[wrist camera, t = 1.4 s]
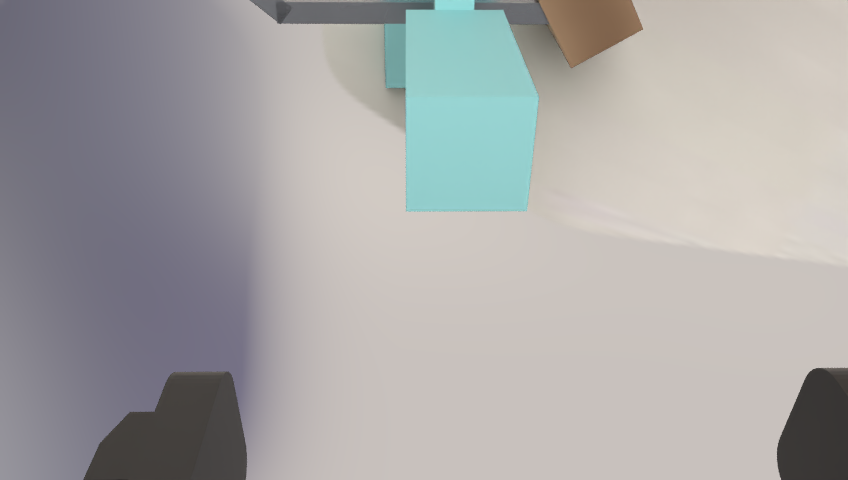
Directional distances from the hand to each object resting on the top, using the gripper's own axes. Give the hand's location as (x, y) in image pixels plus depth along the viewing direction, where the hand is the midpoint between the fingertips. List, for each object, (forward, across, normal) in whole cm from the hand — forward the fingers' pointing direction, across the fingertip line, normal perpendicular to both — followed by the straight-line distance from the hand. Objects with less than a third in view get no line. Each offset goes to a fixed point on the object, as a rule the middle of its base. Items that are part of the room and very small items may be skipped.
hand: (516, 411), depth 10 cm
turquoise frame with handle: (+26, 0, 0) cm, 26 cm away
